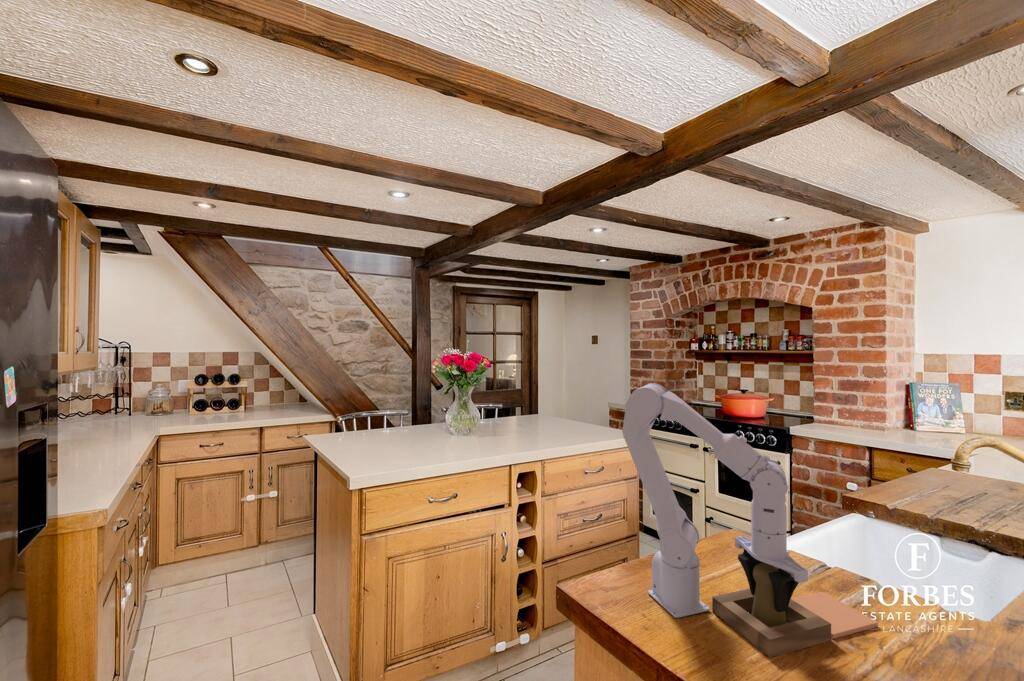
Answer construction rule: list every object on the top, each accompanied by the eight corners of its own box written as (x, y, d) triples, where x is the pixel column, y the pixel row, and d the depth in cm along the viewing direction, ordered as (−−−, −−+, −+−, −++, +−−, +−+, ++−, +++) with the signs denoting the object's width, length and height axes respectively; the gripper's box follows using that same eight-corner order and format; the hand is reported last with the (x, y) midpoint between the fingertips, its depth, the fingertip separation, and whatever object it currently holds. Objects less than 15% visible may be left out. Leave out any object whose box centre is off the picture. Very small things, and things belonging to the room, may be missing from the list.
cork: (778, 616, 90) (778, 559, 90) (794, 636, 84) (794, 575, 84) (745, 615, 91) (745, 558, 91) (758, 635, 85) (758, 574, 85)
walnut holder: (712, 611, 92) (712, 596, 92) (768, 599, 96) (768, 584, 96) (769, 657, 79) (769, 639, 79) (831, 640, 83) (831, 623, 83)
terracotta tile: (780, 605, 94) (780, 601, 94) (822, 595, 97) (822, 591, 97) (832, 638, 84) (832, 634, 84) (877, 626, 87) (877, 622, 87)
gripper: (821, 541, 82) (821, 620, 82) (754, 511, 95) (755, 579, 96) (789, 547, 80) (789, 628, 80) (726, 516, 93) (726, 584, 94)
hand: (768, 601), depth 88 cm, fingers closed on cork, 5 cm apart
